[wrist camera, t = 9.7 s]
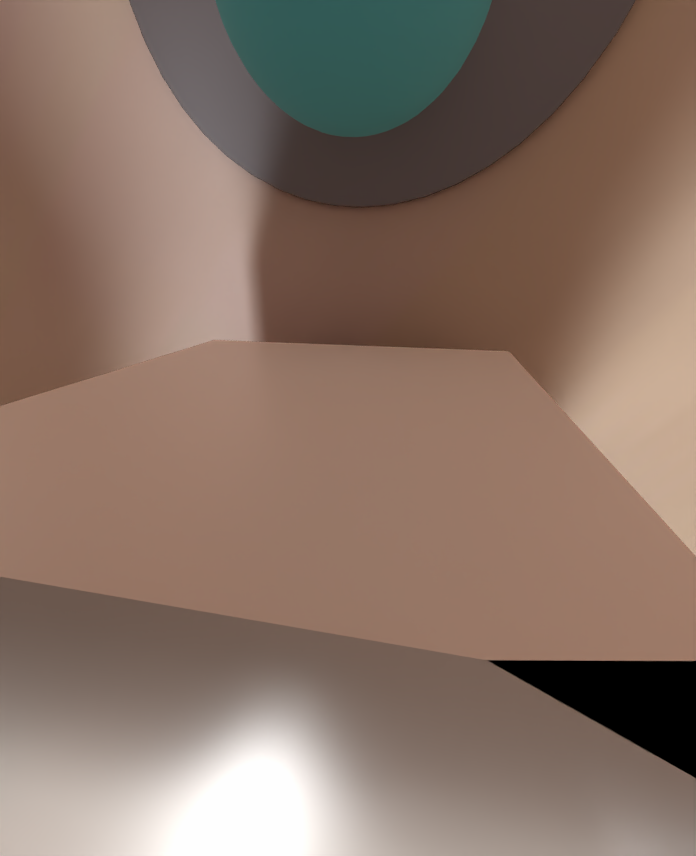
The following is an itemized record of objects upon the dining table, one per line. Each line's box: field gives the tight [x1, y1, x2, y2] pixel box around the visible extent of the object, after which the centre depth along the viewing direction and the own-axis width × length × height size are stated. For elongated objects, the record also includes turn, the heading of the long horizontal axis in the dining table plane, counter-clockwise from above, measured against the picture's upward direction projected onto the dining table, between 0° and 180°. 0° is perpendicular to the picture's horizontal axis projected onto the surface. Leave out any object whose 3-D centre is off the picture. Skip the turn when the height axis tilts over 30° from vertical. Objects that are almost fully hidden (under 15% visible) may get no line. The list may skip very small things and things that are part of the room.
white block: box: [0, 340, 696, 856], centre depth 8 cm, size 8×8×9 cm
